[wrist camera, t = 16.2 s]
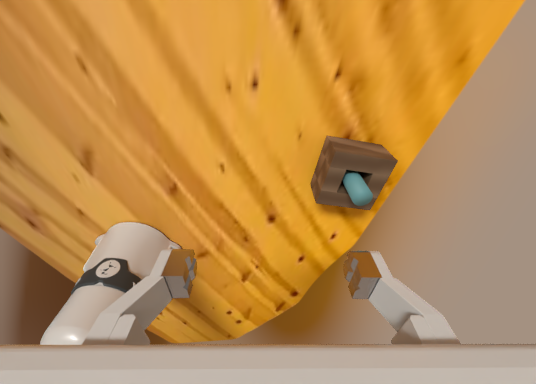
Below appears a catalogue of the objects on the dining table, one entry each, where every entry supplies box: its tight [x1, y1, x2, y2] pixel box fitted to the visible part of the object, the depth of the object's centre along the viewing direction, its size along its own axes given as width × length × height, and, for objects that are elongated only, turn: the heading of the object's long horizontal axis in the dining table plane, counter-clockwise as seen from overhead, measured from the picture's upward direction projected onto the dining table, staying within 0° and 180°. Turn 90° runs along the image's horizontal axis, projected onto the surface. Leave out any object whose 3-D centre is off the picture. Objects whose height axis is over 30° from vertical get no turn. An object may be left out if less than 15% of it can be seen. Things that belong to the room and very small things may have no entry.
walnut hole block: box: [311, 136, 398, 210], centre depth 40 cm, size 10×10×6 cm
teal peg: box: [342, 170, 373, 206], centre depth 38 cm, size 3×3×10 cm
